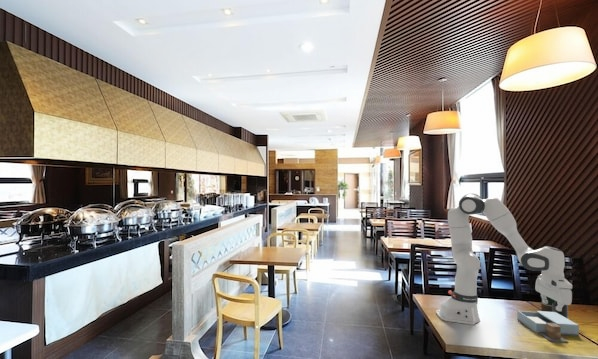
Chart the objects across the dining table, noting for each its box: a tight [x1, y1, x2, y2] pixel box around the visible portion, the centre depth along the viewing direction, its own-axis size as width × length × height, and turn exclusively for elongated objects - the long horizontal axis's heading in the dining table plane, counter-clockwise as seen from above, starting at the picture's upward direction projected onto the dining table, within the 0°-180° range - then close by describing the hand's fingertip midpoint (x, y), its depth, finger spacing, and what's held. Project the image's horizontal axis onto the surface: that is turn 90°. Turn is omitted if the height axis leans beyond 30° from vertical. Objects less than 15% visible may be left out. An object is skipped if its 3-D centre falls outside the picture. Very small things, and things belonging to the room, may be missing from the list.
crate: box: [516, 310, 580, 337], centre depth 161 cm, size 20×16×6 cm
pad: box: [538, 333, 569, 344], centre depth 149 cm, size 8×8×1 cm
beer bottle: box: [540, 296, 555, 312], centre depth 183 cm, size 8×8×24 cm
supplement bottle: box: [552, 300, 569, 319], centre depth 171 cm, size 7×7×12 cm
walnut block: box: [546, 323, 562, 339], centre depth 149 cm, size 4×4×6 cm
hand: (551, 306), depth 150 cm, fingers open, 8 cm apart
